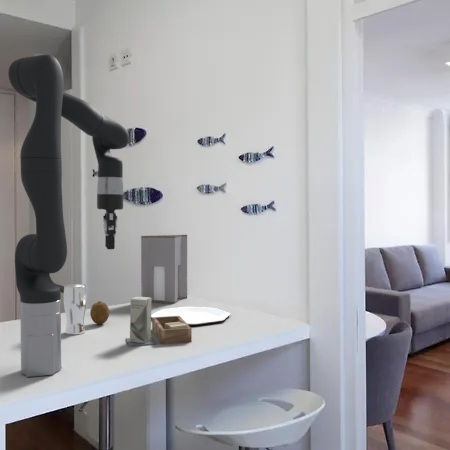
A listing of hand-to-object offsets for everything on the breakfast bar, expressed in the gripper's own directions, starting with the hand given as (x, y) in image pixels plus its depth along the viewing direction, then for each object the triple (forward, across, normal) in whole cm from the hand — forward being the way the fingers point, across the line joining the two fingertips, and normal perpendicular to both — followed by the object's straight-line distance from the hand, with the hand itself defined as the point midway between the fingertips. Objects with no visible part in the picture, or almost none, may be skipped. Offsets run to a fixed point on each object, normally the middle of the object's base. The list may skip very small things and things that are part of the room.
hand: (109, 248), depth 146 cm
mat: (+28, -2, -9) cm, 29 cm away
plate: (+28, +26, -30) cm, 48 cm away
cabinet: (+27, +58, -27) cm, 70 cm away
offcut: (+26, -2, -20) cm, 32 cm away
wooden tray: (+28, +3, -19) cm, 33 cm away
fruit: (+28, +23, +2) cm, 36 cm away
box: (+28, -3, -9) cm, 29 cm away
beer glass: (+28, +14, +10) cm, 33 cm away
